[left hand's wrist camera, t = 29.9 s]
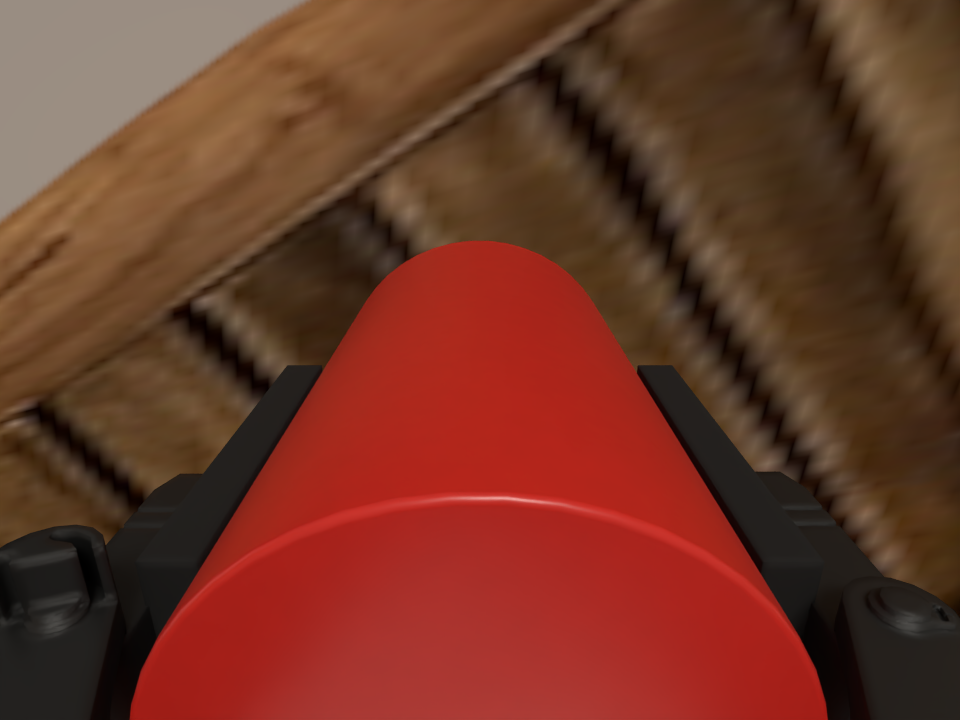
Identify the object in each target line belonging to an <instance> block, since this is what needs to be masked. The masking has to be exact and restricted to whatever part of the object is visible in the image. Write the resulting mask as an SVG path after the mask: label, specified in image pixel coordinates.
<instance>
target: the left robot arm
mask: <svg viewBox="0 0 960 720" xmlns="http://www.w3.org/2000/svg"><path fill="white" fill-rule="evenodd" d="M321 373H322V365H287V367H286V368H285V369H284V371H283V372H282V373H281V374H280V376H279V377H278V378H277V380H276V381H275V382H274V383H273V385H272V386H271V387H270V389H269V390H268V391H267V392H266V394H265V395H264V396H263V398H262V399H261V400H260V401H259V403H258V404H257V405H256V407H255V408H254V409H253V410H252V412H251V413H250V414H249V416H248V417H247V418H246V419H245V421H244V422H243V423H242V425H241V426H240V427H239V428H238V430H237V431H236V432H235V434H234V435H233V436H232V437H231V439H230V440H229V441H228V443H227V444H226V445H225V446H224V448H223V449H222V450H221V452H220V453H219V454H218V455H217V457H216V458H215V459H214V461H213V462H212V463H211V465H210V466H209V467H208V468H207V470H206V471H205V472H204V474H179V475H177V476H176V477H174V478H173V479H171V480H169V481H168V482H166V483H165V484H163V485H161V486H160V487H158V488H157V489H155V490H154V491H153V492H152V493H151V494H150V496H149V497H148V498H147V499H146V500H145V501H144V502H143V504H142V505H141V506H140V507H139V508H138V512H135V513H134V514H133V515H132V516H131V517H130V518H129V520H128V521H127V522H126V523H125V524H124V528H121V529H120V530H119V531H118V532H117V533H116V534H115V536H114V537H113V538H112V539H111V540H110V541H109V542H108V544H107V545H105V542H104V538H103V535H102V534H101V533H100V532H98V531H97V530H96V529H94V528H93V527H87V526H81V525H68V526H57V527H52V528H48V529H44V530H40V531H37V532H33V533H30V534H27V535H25V536H23V537H21V538H18V539H16V540H14V541H12V542H9V543H7V544H6V545H4V546H3V547H1V548H0V720H130V711H131V703H132V700H133V696H134V693H135V689H136V686H137V682H138V679H139V675H140V672H141V669H142V667H143V665H144V663H145V661H146V659H147V657H148V655H149V653H150V651H151V649H152V647H153V646H154V644H155V642H156V640H157V638H158V636H159V634H160V633H161V631H162V629H163V628H164V626H165V625H166V623H167V621H168V620H169V618H170V617H171V615H172V613H173V612H174V610H175V609H176V607H177V605H178V604H179V602H180V600H181V599H182V597H183V596H184V594H185V592H186V591H187V589H188V588H189V586H190V584H191V583H192V581H193V580H194V578H195V576H196V575H197V573H198V571H199V570H200V568H201V567H202V565H203V563H204V562H205V560H206V559H207V557H208V555H209V554H210V552H211V551H212V549H213V547H214V546H215V544H216V542H217V541H218V539H219V538H220V536H221V534H222V533H223V531H224V530H225V528H226V526H227V525H228V523H229V522H230V520H231V518H232V517H233V515H234V513H235V512H236V510H237V509H238V507H239V505H240V504H241V502H242V501H243V499H244V497H245V496H246V494H247V493H248V491H249V489H250V488H251V486H252V484H253V483H254V481H255V480H256V478H257V476H258V475H259V473H260V472H261V470H262V468H263V467H264V465H265V464H266V462H267V460H268V459H269V457H270V455H271V454H272V452H273V451H274V449H275V447H276V446H277V444H278V443H279V441H280V439H281V438H282V436H283V435H284V433H285V431H286V430H287V428H288V426H289V425H290V423H291V422H292V420H293V418H294V417H295V415H296V414H297V412H298V410H299V409H300V407H301V406H302V404H303V402H304V401H305V399H306V397H307V396H308V394H309V393H310V391H311V389H312V388H313V386H314V385H315V383H316V381H317V380H318V378H319V377H320V375H321ZM637 374H638V376H639V378H640V379H641V381H642V383H643V384H644V386H645V387H646V389H647V391H648V392H649V394H650V396H651V397H652V399H653V400H654V402H655V404H656V405H657V407H658V408H659V410H660V412H661V413H662V415H663V417H664V418H665V420H666V421H667V423H668V425H669V426H670V428H671V430H672V431H673V433H674V434H675V436H676V438H677V439H678V441H679V442H680V444H681V446H682V447H683V449H684V451H685V452H686V454H687V455H688V457H689V459H690V460H691V462H692V464H693V465H694V467H695V468H696V470H697V472H698V473H699V475H700V477H701V478H702V480H703V481H704V483H705V485H706V486H707V488H708V489H709V491H710V493H711V494H712V496H713V498H714V499H715V501H716V502H717V504H718V506H719V507H720V509H721V511H722V512H723V514H724V515H725V517H726V519H727V520H728V522H729V523H730V525H731V527H732V528H733V530H734V532H735V533H736V535H737V536H738V538H739V540H740V541H741V543H742V545H743V546H744V548H745V549H746V551H747V553H748V554H749V556H750V557H751V559H752V561H753V562H754V564H755V566H756V567H757V569H758V570H759V572H760V574H761V575H762V577H763V579H764V580H765V582H766V583H767V585H768V587H769V588H770V590H771V591H772V593H773V595H774V596H775V598H776V600H777V601H778V603H779V604H780V606H781V608H782V609H783V611H784V613H785V614H786V616H787V617H788V619H789V621H790V622H791V624H792V625H793V627H794V629H795V630H796V632H797V634H798V635H799V637H800V639H801V641H802V643H803V645H804V647H805V649H806V651H807V653H808V655H809V656H810V658H811V660H812V662H813V664H814V666H815V668H816V671H817V674H818V678H819V681H820V684H821V688H822V691H823V695H824V698H825V701H826V708H827V719H828V720H960V618H959V616H958V615H957V614H956V612H955V611H954V610H953V609H952V608H950V607H949V606H948V605H946V604H945V603H944V602H943V601H941V600H940V599H939V598H937V597H936V596H934V595H932V594H930V593H928V592H926V591H924V590H922V589H920V588H918V587H917V586H915V585H912V584H909V583H905V582H902V581H899V580H896V579H892V578H886V577H884V576H883V575H882V574H881V573H880V572H879V571H878V569H877V568H876V567H875V566H874V565H873V564H872V563H871V562H870V560H869V559H868V558H867V557H866V556H865V555H864V554H863V552H862V551H861V550H860V549H859V548H858V547H857V546H856V544H855V543H854V542H853V541H852V540H851V539H850V538H849V537H848V535H847V534H846V533H845V532H844V531H843V530H842V529H841V527H840V526H836V522H835V521H834V519H833V518H832V517H831V516H830V515H829V514H828V513H827V512H826V510H822V506H821V505H820V504H819V502H818V501H817V500H816V499H815V498H814V497H813V496H812V495H811V493H810V492H809V491H808V490H807V489H806V488H805V487H804V486H802V485H800V484H799V483H797V482H795V481H794V480H792V479H791V478H789V477H787V476H786V475H784V474H783V473H781V472H754V470H753V469H752V468H751V466H750V465H749V464H748V463H747V461H746V460H745V459H744V457H743V456H742V455H741V453H740V452H739V451H738V450H737V448H736V447H735V446H734V444H733V443H732V442H731V441H730V439H729V438H728V437H727V435H726V434H725V433H724V432H723V430H722V429H721V428H720V426H719V425H718V424H717V423H716V421H715V420H714V419H713V417H712V416H711V415H710V414H709V412H708V411H707V410H706V408H705V407H704V406H703V405H702V403H701V402H700V401H699V399H698V398H697V397H696V396H695V394H694V393H693V392H692V390H691V389H690V388H689V387H688V385H687V384H686V383H685V381H684V380H683V379H682V378H681V376H680V375H679V374H678V372H677V371H676V370H675V369H674V367H673V366H672V365H638V369H637Z"/></svg>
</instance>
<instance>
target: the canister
mask: <svg viewBox="0 0 960 720" xmlns="http://www.w3.org/2000/svg"><path fill="white" fill-rule="evenodd" d="M130 720H828V719H827V708H826V701H825V698H824V695H823V691H822V688H821V684H820V681H819V678H818V674H817V671H816V668H815V666H814V664H813V662H812V660H811V658H810V656H809V655H808V653H807V651H806V649H805V647H804V645H803V643H802V641H801V639H800V637H799V635H798V634H797V632H796V630H795V629H794V627H793V625H792V624H791V622H790V621H789V619H788V617H787V616H786V614H785V613H784V611H783V609H782V608H781V606H780V604H779V603H778V601H777V600H776V598H775V596H774V595H773V593H772V591H771V590H770V588H769V587H768V585H767V583H766V582H765V580H764V579H763V577H762V575H761V574H760V572H759V570H758V569H757V567H756V566H755V564H754V562H753V561H752V559H751V557H750V556H749V554H748V553H747V551H746V549H745V548H744V546H743V545H742V543H741V541H740V540H739V538H738V536H737V535H736V533H735V532H734V530H733V528H732V527H731V525H730V523H729V522H728V520H727V519H726V517H725V515H724V514H723V512H722V511H721V509H720V507H719V506H718V504H717V502H716V501H715V499H714V498H713V496H712V494H711V493H710V491H709V489H708V488H707V486H706V485H705V483H704V481H703V480H702V478H701V477H700V475H699V473H698V472H697V470H696V468H695V467H694V465H693V464H692V462H691V460H690V459H689V457H688V455H687V454H686V452H685V451H684V449H683V447H682V446H681V444H680V442H679V441H678V439H677V438H676V436H675V434H674V433H673V431H672V430H671V428H670V426H669V425H668V423H667V421H666V420H665V418H664V417H663V415H662V413H661V412H660V410H659V408H658V407H657V405H656V404H655V402H654V400H653V399H652V397H651V396H650V394H649V392H648V391H647V389H646V387H645V386H644V384H643V383H642V381H641V379H640V378H639V376H638V374H637V373H636V371H635V370H634V368H633V366H632V365H631V363H630V362H629V360H628V358H627V357H626V355H625V353H624V352H623V350H622V349H621V347H620V345H619V344H618V342H617V340H616V339H615V337H614V336H613V334H612V332H611V331H610V329H609V328H608V326H607V324H606V323H605V321H604V319H603V318H602V316H601V315H600V313H599V311H598V310H597V308H596V306H595V305H594V303H593V302H592V300H591V299H590V297H589V296H588V295H587V293H586V292H585V291H584V289H583V288H582V287H581V286H580V285H579V284H578V283H577V281H576V280H575V279H574V278H573V277H572V276H571V275H570V274H568V273H567V272H566V271H565V270H563V269H562V268H561V267H559V266H558V265H557V264H555V263H554V262H552V261H550V260H548V259H547V258H545V257H543V256H542V255H540V254H537V253H535V252H532V251H530V250H528V249H525V248H522V247H518V246H514V245H511V244H507V243H500V242H492V241H466V242H459V243H451V244H448V245H444V246H440V247H437V248H433V249H431V250H429V251H426V252H424V253H421V254H419V255H417V256H415V257H413V258H412V259H410V260H408V261H407V262H405V263H403V264H402V265H400V266H399V267H398V268H397V269H395V270H394V271H393V272H391V273H390V274H389V275H388V276H387V277H386V278H385V279H384V280H383V281H382V282H381V283H380V284H379V285H378V286H377V287H376V288H375V290H374V291H373V293H372V294H371V295H370V297H369V298H368V299H367V301H366V302H365V304H364V306H363V307H362V309H361V310H360V312H359V314H358V315H357V317H356V319H355V320H354V322H353V323H352V325H351V327H350V328H349V330H348V331H347V333H346V335H345V336H344V338H343V339H342V341H341V343H340V344H339V346H338V348H337V349H336V351H335V352H334V354H333V356H332V357H331V359H330V360H329V362H328V364H327V365H326V367H325V368H324V370H323V372H322V373H321V375H320V377H319V378H318V380H317V381H316V383H315V385H314V386H313V388H312V389H311V391H310V393H309V394H308V396H307V397H306V399H305V401H304V402H303V404H302V406H301V407H300V409H299V410H298V412H297V414H296V415H295V417H294V418H293V420H292V422H291V423H290V425H289V426H288V428H287V430H286V431H285V433H284V435H283V436H282V438H281V439H280V441H279V443H278V444H277V446H276V447H275V449H274V451H273V452H272V454H271V455H270V457H269V459H268V460H267V462H266V464H265V465H264V467H263V468H262V470H261V472H260V473H259V475H258V476H257V478H256V480H255V481H254V483H253V484H252V486H251V488H250V489H249V491H248V493H247V494H246V496H245V497H244V499H243V501H242V502H241V504H240V505H239V507H238V509H237V510H236V512H235V513H234V515H233V517H232V518H231V520H230V522H229V523H228V525H227V526H226V528H225V530H224V531H223V533H222V534H221V536H220V538H219V539H218V541H217V542H216V544H215V546H214V547H213V549H212V551H211V552H210V554H209V555H208V557H207V559H206V560H205V562H204V563H203V565H202V567H201V568H200V570H199V571H198V573H197V575H196V576H195V578H194V580H193V581H192V583H191V584H190V586H189V588H188V589H187V591H186V592H185V594H184V596H183V597H182V599H181V600H180V602H179V604H178V605H177V607H176V609H175V610H174V612H173V613H172V615H171V617H170V618H169V620H168V621H167V623H166V625H165V626H164V628H163V629H162V631H161V633H160V634H159V636H158V638H157V640H156V642H155V644H154V646H153V647H152V649H151V651H150V653H149V655H148V657H147V659H146V661H145V663H144V665H143V667H142V669H141V672H140V675H139V679H138V682H137V686H136V689H135V693H134V696H133V700H132V703H131V711H130Z"/></svg>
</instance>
